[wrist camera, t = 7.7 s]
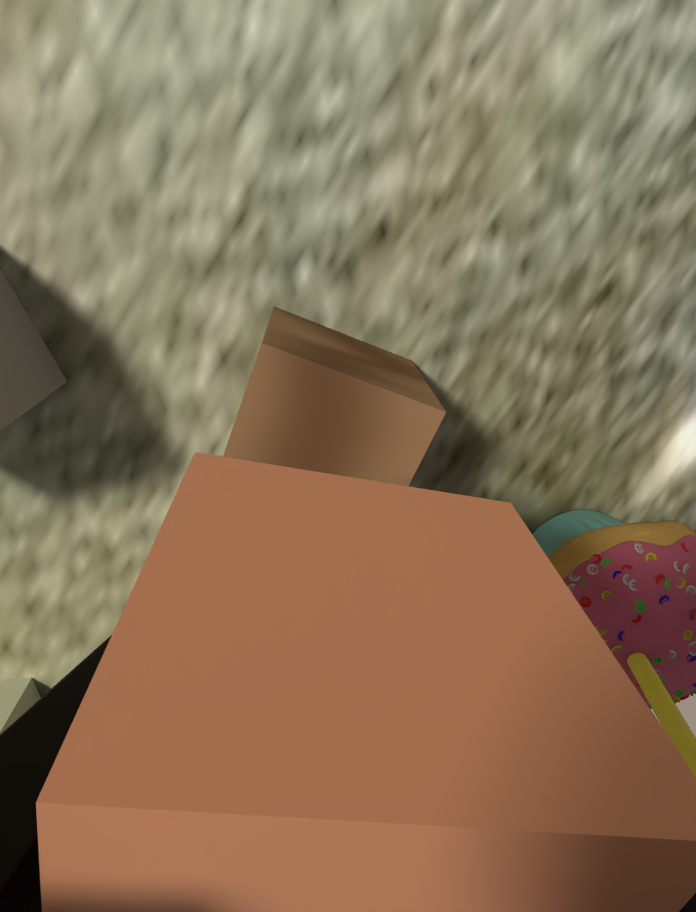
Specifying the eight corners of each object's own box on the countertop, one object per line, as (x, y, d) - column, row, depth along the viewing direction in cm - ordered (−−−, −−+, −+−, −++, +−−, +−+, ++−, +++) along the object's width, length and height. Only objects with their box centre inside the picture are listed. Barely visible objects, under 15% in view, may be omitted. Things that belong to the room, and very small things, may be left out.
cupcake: (451, 595, 25) (559, 893, 14) (541, 443, 22) (768, 679, 11) (599, 636, 27) (793, 926, 16) (702, 501, 24) (1033, 753, 13)
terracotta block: (511, 502, 9) (741, 843, 4) (425, 713, 12) (514, 1095, 7) (195, 452, 8) (35, 802, 4) (170, 691, 11) (52, 1107, 6)
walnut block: (411, 360, 20) (446, 412, 15) (356, 479, 22) (370, 559, 17) (274, 305, 19) (262, 342, 14) (229, 437, 21) (205, 511, 16)
